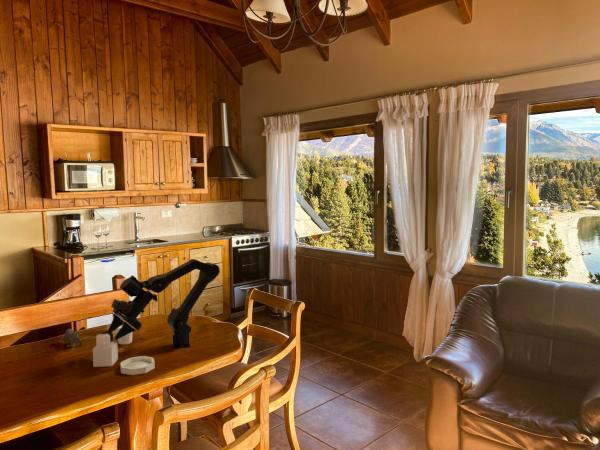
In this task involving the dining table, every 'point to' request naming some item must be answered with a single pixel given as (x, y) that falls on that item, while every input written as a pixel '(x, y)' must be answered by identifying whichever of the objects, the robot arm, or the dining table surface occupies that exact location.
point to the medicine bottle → (105, 350)
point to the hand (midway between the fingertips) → (111, 336)
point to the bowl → (137, 365)
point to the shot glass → (124, 337)
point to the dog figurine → (71, 337)
